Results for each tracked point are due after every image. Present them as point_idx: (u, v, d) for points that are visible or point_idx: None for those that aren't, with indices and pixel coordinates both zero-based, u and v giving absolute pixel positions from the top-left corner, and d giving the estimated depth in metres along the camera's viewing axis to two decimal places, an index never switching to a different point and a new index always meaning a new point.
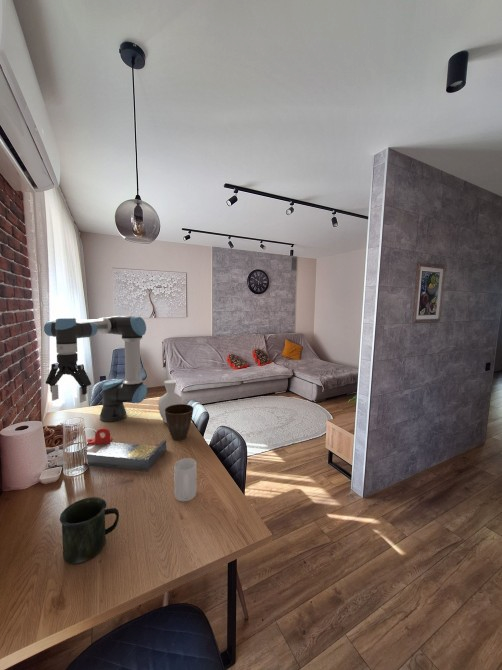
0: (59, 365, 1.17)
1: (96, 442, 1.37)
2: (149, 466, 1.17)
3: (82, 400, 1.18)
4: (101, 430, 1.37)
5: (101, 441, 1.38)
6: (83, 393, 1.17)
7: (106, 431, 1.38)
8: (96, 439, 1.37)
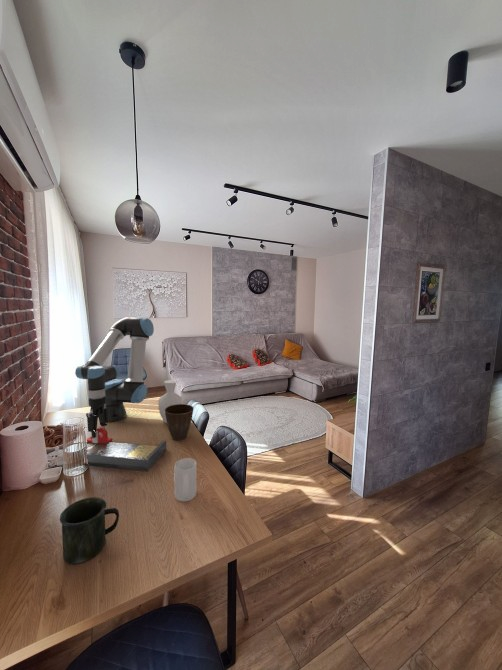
0: None
1: None
2: (149, 466, 1.17)
3: (93, 441, 1.37)
4: (99, 430, 1.37)
5: (99, 441, 1.37)
6: None
7: (103, 431, 1.37)
8: None
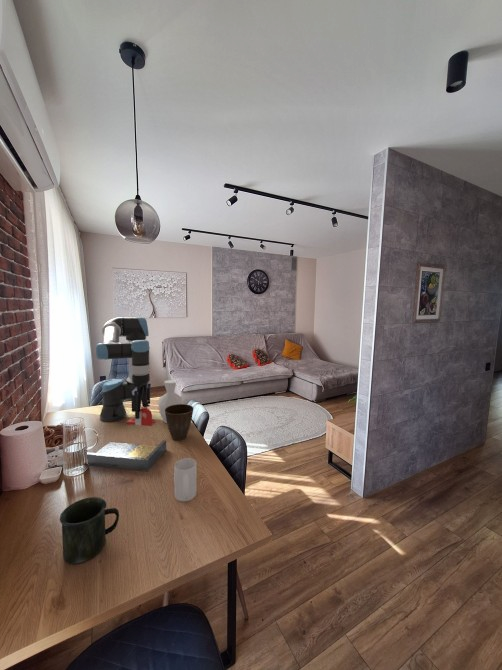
0: None
1: None
2: (149, 466, 1.17)
3: (136, 423, 1.23)
4: (143, 410, 1.23)
5: (143, 422, 1.24)
6: None
7: (147, 412, 1.23)
8: None
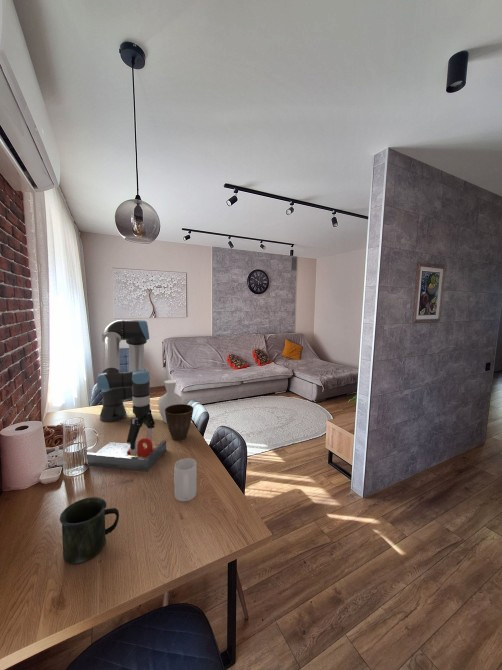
0: None
1: (138, 452, 1.25)
2: (149, 466, 1.17)
3: (132, 454, 1.20)
4: (143, 440, 1.24)
5: (143, 452, 1.25)
6: None
7: (148, 442, 1.24)
8: (138, 449, 1.25)
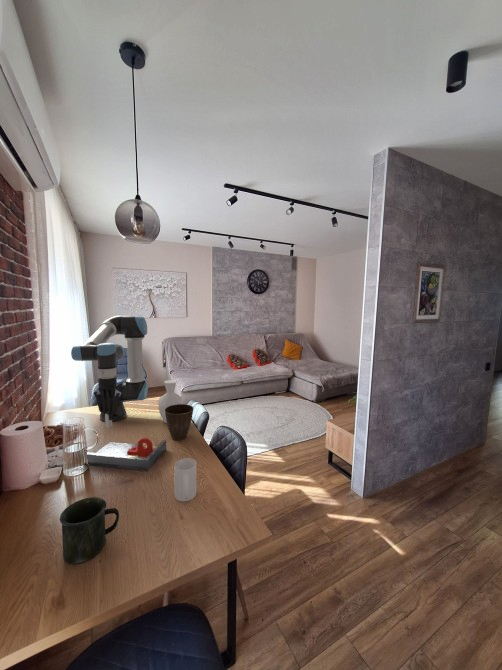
0: (99, 388, 1.24)
1: (138, 452, 1.25)
2: (149, 466, 1.17)
3: (109, 425, 1.25)
4: (143, 440, 1.24)
5: (143, 452, 1.25)
6: (110, 419, 1.25)
7: (148, 442, 1.24)
8: (138, 449, 1.25)
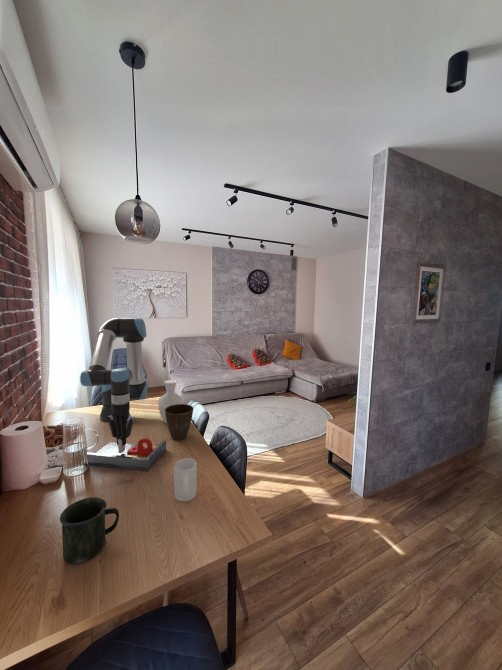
0: (112, 414, 1.24)
1: (138, 452, 1.25)
2: (149, 466, 1.17)
3: (122, 450, 1.25)
4: (143, 440, 1.24)
5: (143, 452, 1.25)
6: (123, 444, 1.25)
7: (148, 442, 1.24)
8: (138, 449, 1.25)
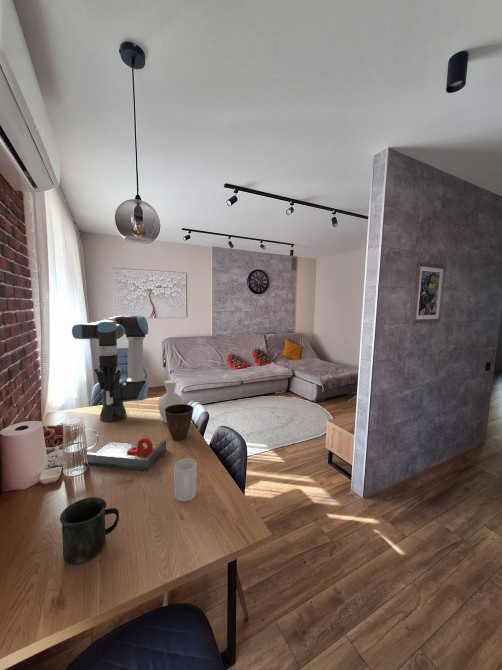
0: (100, 366, 1.24)
1: (138, 452, 1.25)
2: (149, 466, 1.17)
3: (110, 402, 1.26)
4: (143, 440, 1.24)
5: (143, 452, 1.25)
6: (111, 396, 1.26)
7: (148, 442, 1.24)
8: (138, 449, 1.25)
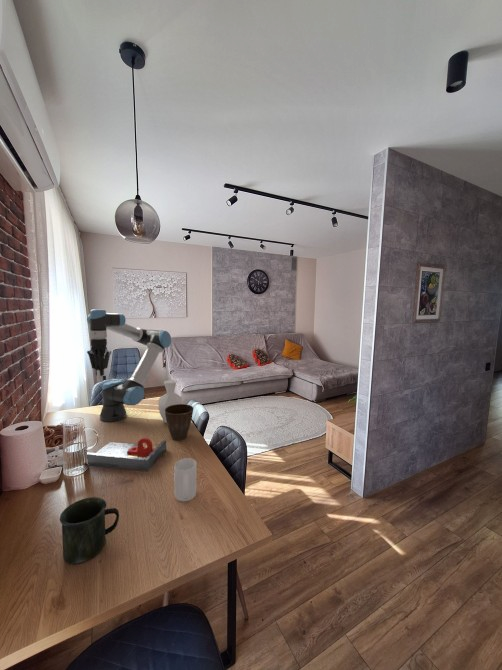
0: (92, 348, 1.45)
1: (138, 452, 1.25)
2: (149, 466, 1.17)
3: (100, 380, 1.46)
4: (143, 440, 1.24)
5: (143, 452, 1.25)
6: (101, 374, 1.46)
7: (148, 442, 1.24)
8: (138, 449, 1.25)
